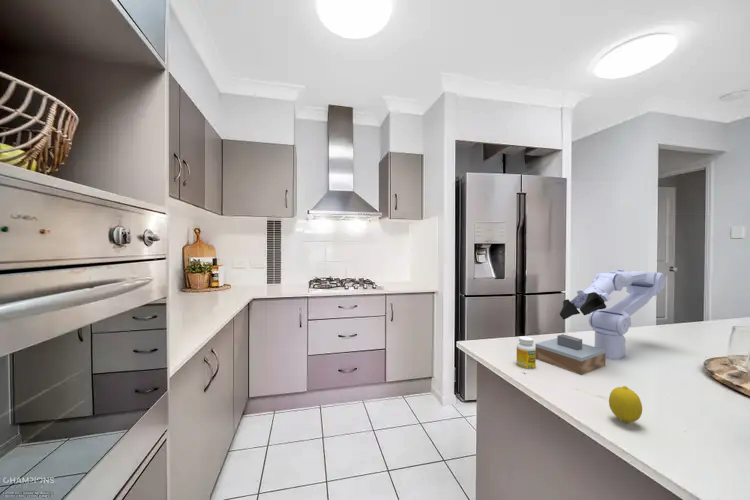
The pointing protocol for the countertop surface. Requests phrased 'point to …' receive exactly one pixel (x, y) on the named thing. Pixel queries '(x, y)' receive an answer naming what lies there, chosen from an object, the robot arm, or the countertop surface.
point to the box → (570, 361)
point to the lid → (570, 347)
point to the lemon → (625, 404)
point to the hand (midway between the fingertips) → (572, 314)
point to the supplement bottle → (526, 353)
